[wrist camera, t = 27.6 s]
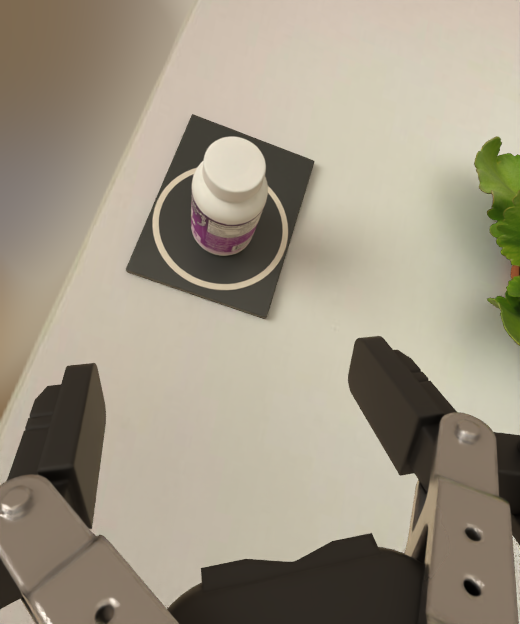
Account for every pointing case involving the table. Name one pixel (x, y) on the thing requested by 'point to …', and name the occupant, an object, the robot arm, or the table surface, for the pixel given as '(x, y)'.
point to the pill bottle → (228, 195)
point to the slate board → (202, 264)
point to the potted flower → (504, 222)
